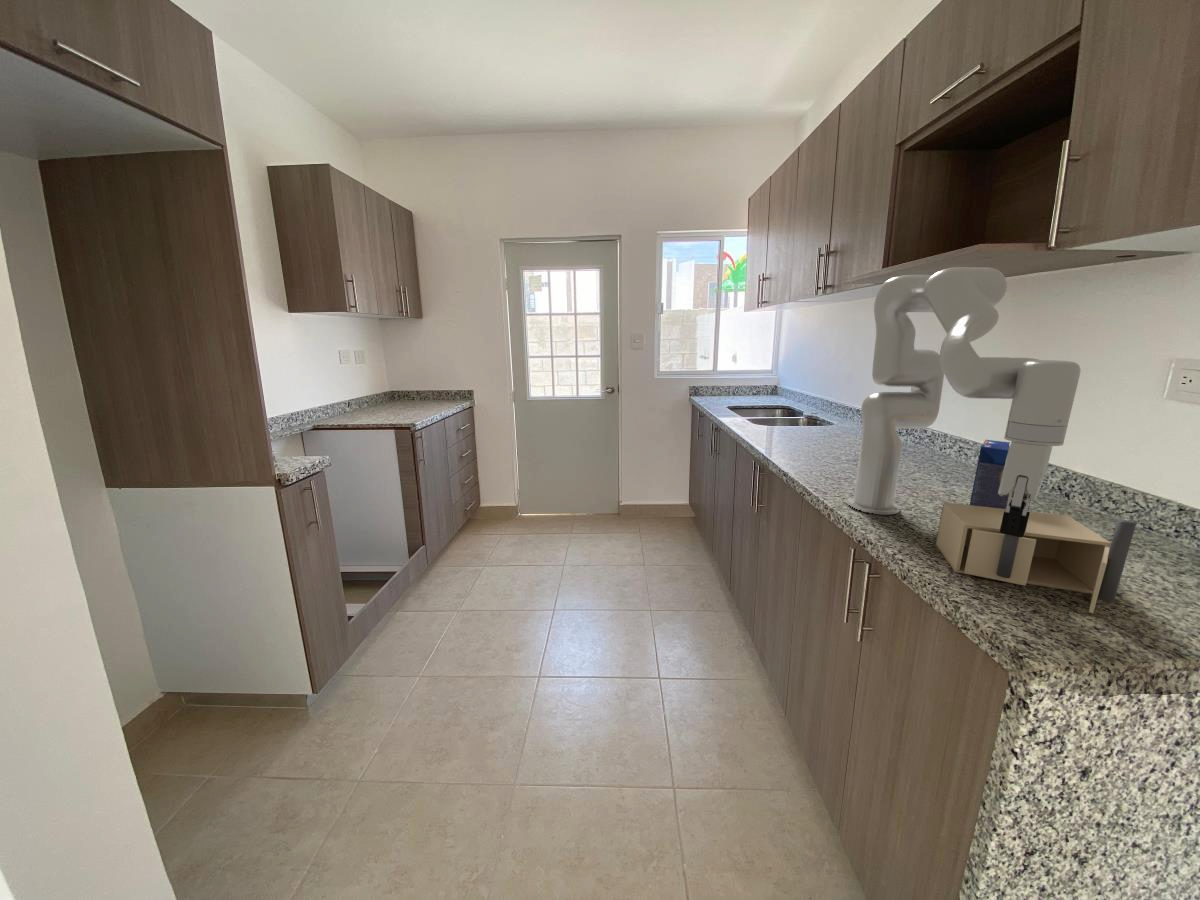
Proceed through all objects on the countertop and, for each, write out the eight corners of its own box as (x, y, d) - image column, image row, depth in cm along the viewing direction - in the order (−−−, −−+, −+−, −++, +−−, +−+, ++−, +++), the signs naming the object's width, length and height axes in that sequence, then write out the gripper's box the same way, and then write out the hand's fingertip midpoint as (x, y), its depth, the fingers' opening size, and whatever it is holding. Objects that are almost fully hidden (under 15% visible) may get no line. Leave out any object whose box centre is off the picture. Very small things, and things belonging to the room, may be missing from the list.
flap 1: (964, 572, 89) (979, 496, 86) (1025, 584, 85) (1043, 505, 81) (965, 577, 87) (981, 500, 84) (1028, 590, 83) (1047, 509, 79)
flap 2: (1088, 612, 76) (1112, 524, 73) (1092, 593, 82) (1114, 511, 78) (1110, 618, 74) (1136, 529, 71) (1112, 598, 80) (1136, 515, 77)
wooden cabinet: (935, 544, 103) (943, 502, 101) (1056, 561, 95) (1067, 515, 93) (955, 572, 90) (964, 524, 88) (1096, 594, 83) (1110, 542, 80)
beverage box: (1004, 534, 108) (1024, 443, 103) (1001, 549, 101) (1022, 451, 96) (968, 526, 113) (985, 439, 108) (962, 540, 105) (980, 446, 100)
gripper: (1011, 425, 87) (992, 516, 91) (999, 436, 76) (978, 538, 81) (1067, 430, 82) (1044, 527, 86) (1062, 443, 71) (1036, 552, 75)
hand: (1012, 532), depth 83 cm, fingers closed on flap 1, 2 cm apart
